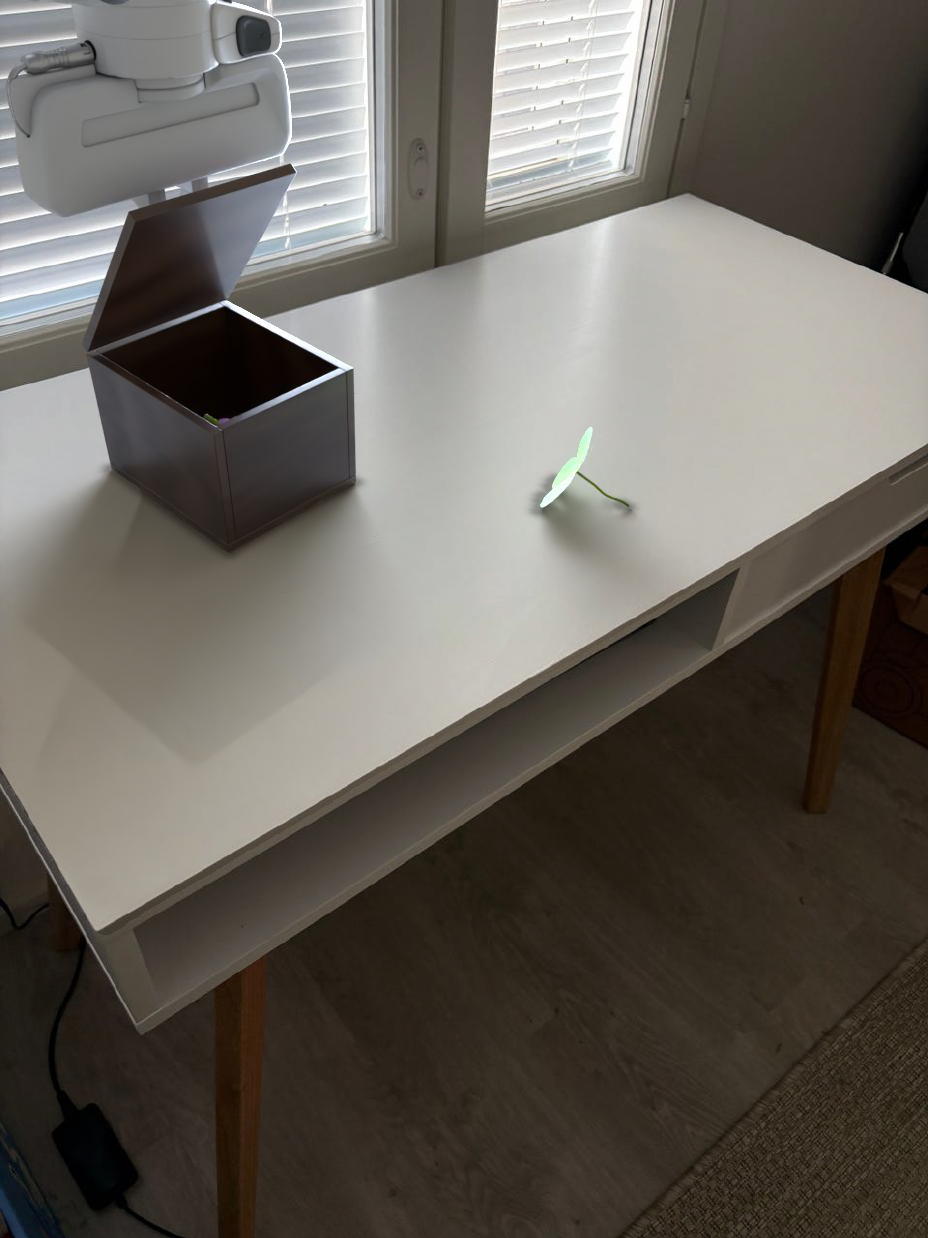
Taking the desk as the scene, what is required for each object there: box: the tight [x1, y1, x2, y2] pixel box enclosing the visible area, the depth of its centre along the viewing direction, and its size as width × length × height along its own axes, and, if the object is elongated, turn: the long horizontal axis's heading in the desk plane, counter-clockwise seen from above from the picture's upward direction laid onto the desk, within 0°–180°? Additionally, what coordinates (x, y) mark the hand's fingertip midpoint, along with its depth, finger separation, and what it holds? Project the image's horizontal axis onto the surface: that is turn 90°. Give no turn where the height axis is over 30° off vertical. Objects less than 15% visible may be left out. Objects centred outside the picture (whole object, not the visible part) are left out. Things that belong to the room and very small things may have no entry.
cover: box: [81, 162, 298, 353], centre depth 75 cm, size 16×14×1 cm
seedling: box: [539, 426, 630, 508], centre depth 85 cm, size 7×8×7 cm
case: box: [85, 300, 357, 554], centre depth 82 cm, size 16×14×11 cm
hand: (177, 243), depth 74 cm, fingers closed
